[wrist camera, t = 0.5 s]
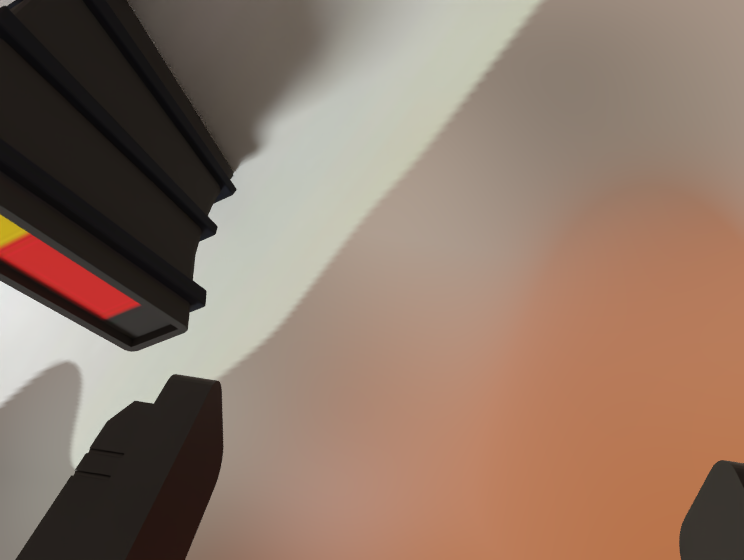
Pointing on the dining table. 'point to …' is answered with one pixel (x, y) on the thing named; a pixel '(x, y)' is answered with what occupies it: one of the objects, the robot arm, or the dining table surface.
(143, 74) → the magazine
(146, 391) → the dining table surface
